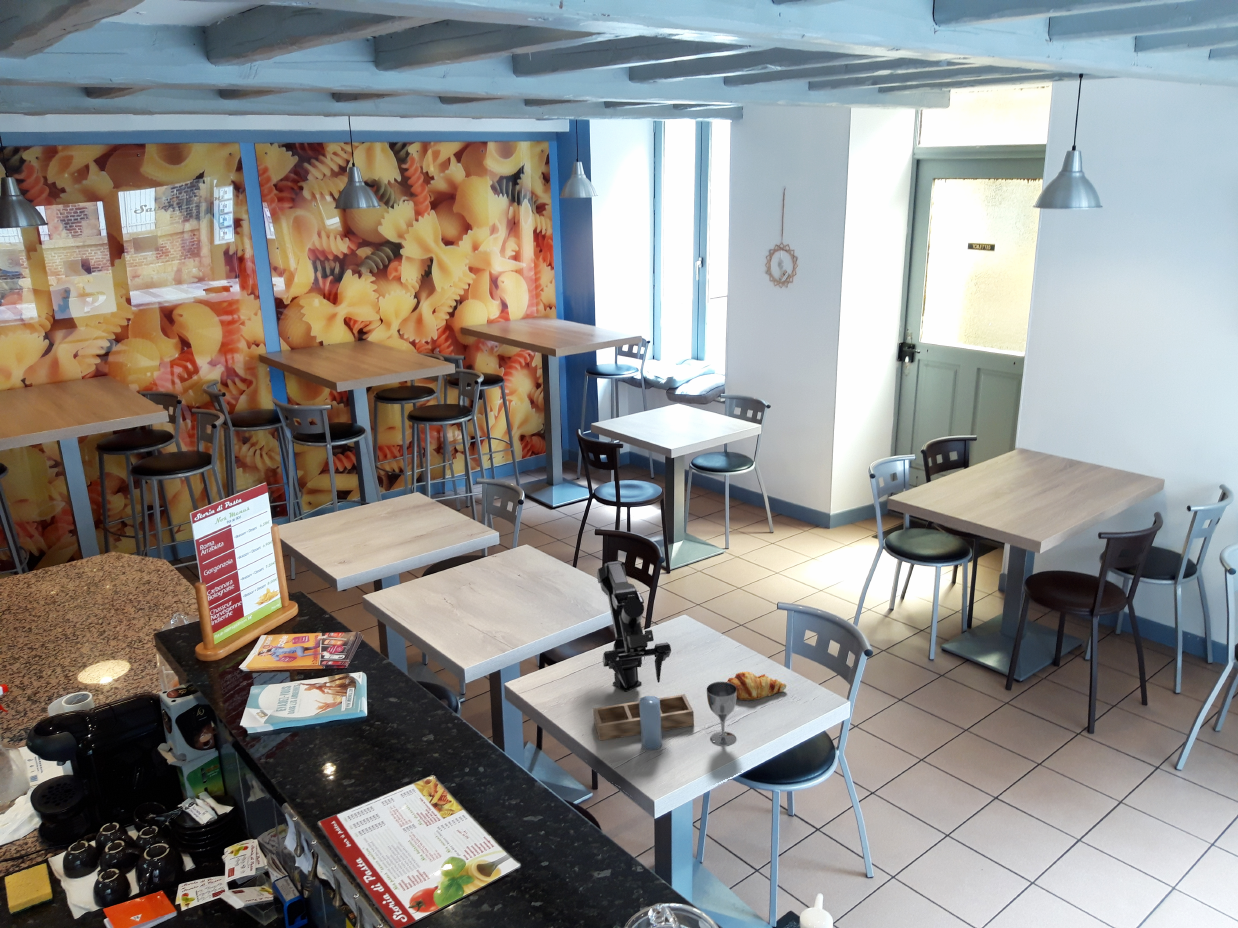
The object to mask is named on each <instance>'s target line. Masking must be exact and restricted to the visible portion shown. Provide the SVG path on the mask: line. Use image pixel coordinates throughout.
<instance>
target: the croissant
mask: <svg viewBox="0 0 1238 928" xmlns="http://www.w3.org/2000/svg"><path fill="white" fill-rule="evenodd" d="M726 682H729V683H732V684H733V685H735V686H736V688H737V699H736V700H741V701H743V700H744V701H747V700H749V701H750V700H751V701H752V700H753V701H754V700H759V699H762V698H765V697H771V696H773V695H775V694H777V693H782V692H784V691H785V690H786V689H787V684H786V683H783V682H782V681H780V680H779V679H778V678H775V679H773V678H772V677H769V676H768V675H766V674H765V673H764V674H761V675H758V676H757V675H755V673H753V672H751V671H740V672H737V673H736V674H735V676H734V677H729V678H728V679H727V681H726Z"/></svg>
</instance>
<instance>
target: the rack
mask: <svg viewBox="0 0 1238 928" xmlns="http://www.w3.org/2000/svg"><path fill="white" fill-rule="evenodd" d="M658 698H659V699H660V713H661V732H662V731H669V730H675V729H681V728H687V727H692V726H695V719H694V718H695V716H694V709H693V707H692V706H691V703H690V702H689V700H688V698H687V696H686V694H685V693H684V694H683V693H682V694H677V695H670V696H666V697H665V696H664V697H658ZM592 709H593V722H594V726H595V729H596V733H597V735H598V738H599V741H606V740H612V739H613V740H614V739H620V738H625V737H626V738H627V737H632V736H637V735H641V724H640V708H639V700H638V701H632V702H626V703H619V704H618V703H617V704H615V705H614V704H613V705H607V706H602V707H601V706H600V707H594V708H592Z"/></svg>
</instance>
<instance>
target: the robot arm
mask: <svg viewBox="0 0 1238 928" xmlns="http://www.w3.org/2000/svg"><path fill="white" fill-rule="evenodd" d="M622 563H623V562H622V561H620V560H616V561H609V562H608V561H607V563H604V564H603V566H601V567H599V568H598V569H597V572H596V577H597V578H596V579H597V583H598V584H600V589H601V591H602V592H603V593H604V595H606V596H607V599H608V604H609V609H610V615H611V621H612V624H613V625H612V626H613V630H614V631H613V632H614V635H615V640H614V643H613V648H612V650H607V651H604V652H603V653H602V654H603V655H602V665H603V667H604V668H607V667H608V669H609V670H612V671H613V672H614V673H613V674H614V681H613V682H612V684H613V685H614V686H615V687H617V688H619V689H621V690H622V691H624V692H628V691H629V690H632V689H634V688H636V687H638V686H640V685H642V681H640V680H639V672H638V671H639V670H638V669H639V668H641V667H642V664H643V657H644V658H645V657H650V656H653V657H654V658H655V659H654V668H655V675H656V676H655V677H656V681H657V683H660V681H661V671H662V665H663V662H665V661H666V660H667V658H670V655H671V653H672V648H671V645H670V643H669V642H661V643H660V642H659V643H655V644H654V647H651V648H648V645H649V644H648V643H649V642H650V643H651V642H654V640H655V639H654V634H653V633H654V632H653V630H652V629H647V630H644V631H643V627H642V622H641V621H642V618H643V615H644V613H645V612H644V611H645V605H644V603H645V601H644V600H645V599H644V597H643V596H642V595H641V594H640V592H639V590H637V588H636V586H635V585H634V584H632V583H630V582H628V578H627V572H626V568H625V564H622Z"/></svg>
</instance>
